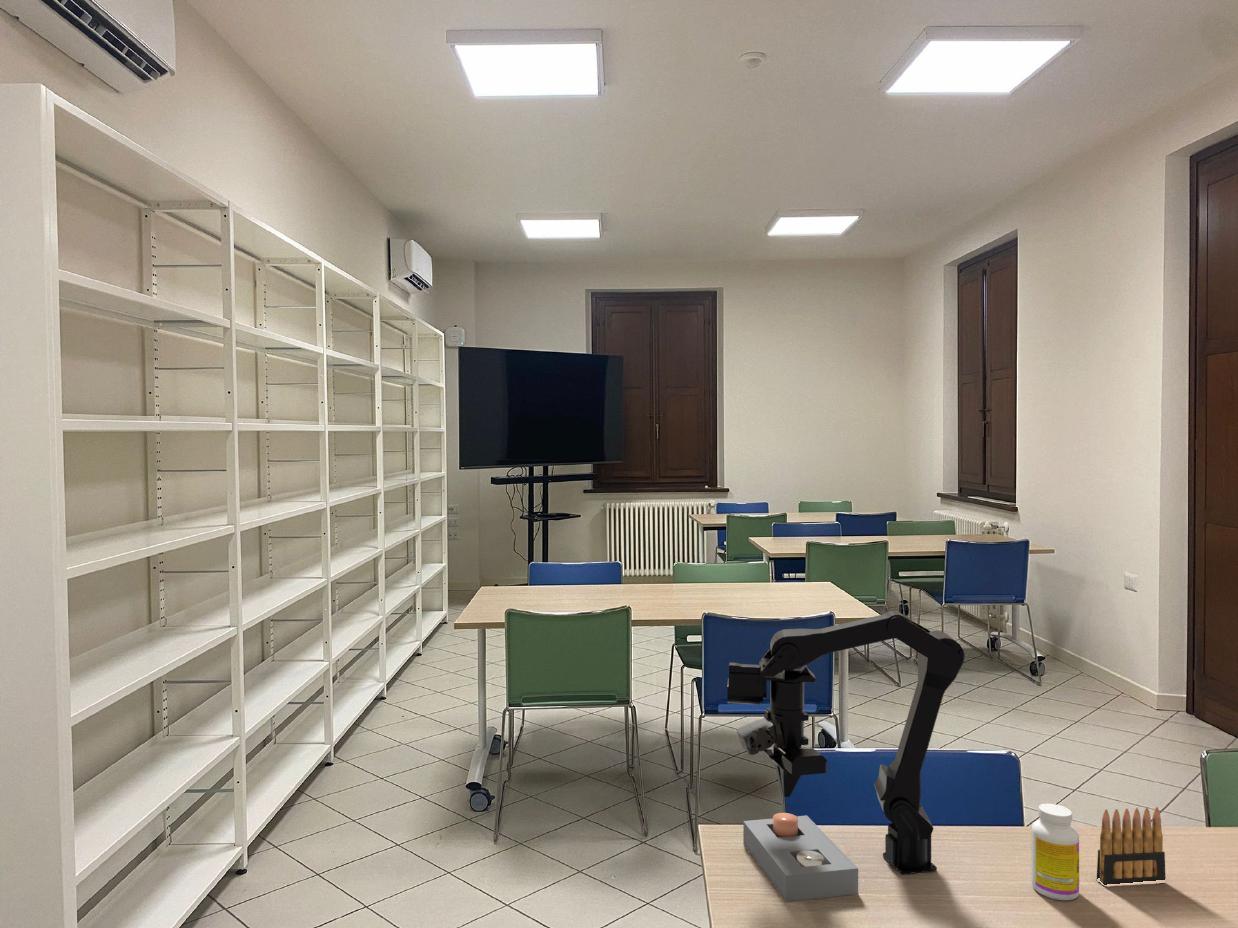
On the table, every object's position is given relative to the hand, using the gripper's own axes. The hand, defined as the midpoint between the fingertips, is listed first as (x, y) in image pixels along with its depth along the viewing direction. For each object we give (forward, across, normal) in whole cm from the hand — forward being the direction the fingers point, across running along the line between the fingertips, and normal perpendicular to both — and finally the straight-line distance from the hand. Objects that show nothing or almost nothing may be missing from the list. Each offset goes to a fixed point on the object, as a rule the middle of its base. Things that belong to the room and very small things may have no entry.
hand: (786, 796), depth 138 cm
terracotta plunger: (+7, -1, 0) cm, 7 cm away
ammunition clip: (+10, +20, +51) cm, 55 cm away
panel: (+10, +4, 0) cm, 11 cm away
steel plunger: (+9, +9, 0) cm, 13 cm away
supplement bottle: (+10, +20, +37) cm, 43 cm away
